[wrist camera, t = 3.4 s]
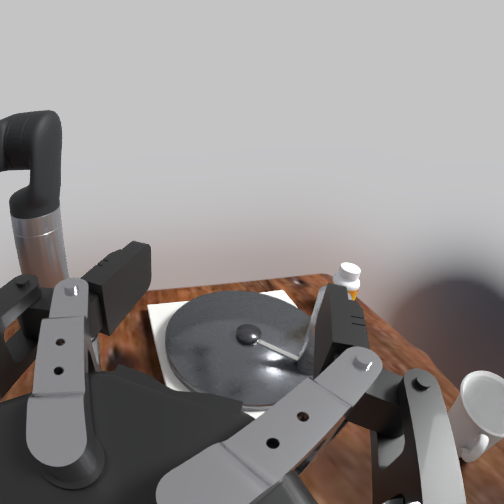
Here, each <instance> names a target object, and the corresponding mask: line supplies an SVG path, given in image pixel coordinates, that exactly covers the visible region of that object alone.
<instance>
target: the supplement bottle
mask: <svg viewBox="0 0 504 504" xmlns="http://www.w3.org/2000/svg"><path fill="white" fill-rule="evenodd" d="M360 272H361V270H360V268H359V267H358V266H356V265H354V264H352V263H342V264H341V265H340V269H339V272H338V273H336V274H335V275H334V276H333V279H332V284H337V285H342V286H346V287H347V292H348V293H349V294H350V295H351V297H352V300H355V298H356V295H357V292H358V289H359V286H360V281H359V280H358V278H359V276H360Z"/></svg>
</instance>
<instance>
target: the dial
mask: <svg viewBox="0 0 504 504" xmlns="http://www.w3.org/2000/svg"><path fill="white" fill-rule="evenodd" d="M326 287H327V286H323V287H321V288H320V290H319V293H318V297H317V300H316V303H315V307H314V310H313V313H312V316H311V318H310V317H309V316H308V315H307V314H306V313H304V312H303V311H301V310H300V309H299V308H297V307H295V306H293V305H292V304H290V303H288V302H285V301H283V300H281V299H278V298H276V297H272V296H269V295H266V294H261V293H256V292H249V291H221V292H214V293H210V294H205V295H202V296H199V297H197V298H195V299H192V300H190V301H189V302H187V303H185V304H184V305H183V306H181V307H180V308H179V309H178V310H177V311H176V312H175V313H174V314H173V316H172V317H171V319H170V320H169V322H168V325H167V328H166V332H165V350H166V356H167V360H168V363H169V366H170V368H171V369H172V371H173V373H174V375H175V376H176V377H177V378H178V380H179V381H180V382H181V383H182V384H183V385H184V386H185V387H186V388H187V389H188V390H190V391H191V392H197V393H211V394H214V395H218V396H222V397H226V398H230V399H234V400H239V401H243V405H242V409H241V411H248V412H260V411H267V410H268V409H269V408H271V407H272V406H273V405H274V404H276V403H277V402H278V401H279V400H281V399H282V398H283V397H284V396H286V395H287V394H288V393H289V392H290V391H292V390H293V389H294V388H295V387H296V386H298V385H299V384H300V383H301V382H302V381H304V380H305V379H306V378H308V377H311V378H312V379H313V369H314V343H315V324H316V319H317V315H318V312H319V309H320V306H321V303H322V299H323V296H324V293H325V290H326ZM347 293H348V292H347ZM348 299H349V300H352V297H351V295H350V294H349V293H348Z"/></svg>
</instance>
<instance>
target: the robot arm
mask: <svg viewBox="0 0 504 504" xmlns="http://www.w3.org/2000/svg"><path fill="white" fill-rule="evenodd" d="M61 149H62V128H61V122H60V119H59V116H58V115H57V114H56V113H55V112H54V111H49V110H47V111H34V112H27V113H18V114H14V115H11V116H9V117H7V118H4V119H2V120H0V172H2V171H7V170H30V184H29V185H28V186H27V187H25V188H22V189H20V190H18V191H17V192H15V193H14V194H13V195H12V196H11V197H10V200H9V204H10V214H11V220H12V227H13V233H14V238H15V244H16V249H17V254H18V259H19V264H20V268H21V272H22V275H20V276H17V277H15V278H14V279H12V280H11V281H10V282H8V283H7V284H6V285H4V286H3V287H2V288H1V289H0V401H1V399H2V398H3V396H4V395H5V394H6V393H7V392H8V390H9V389H10V388H11V387H12V386H13V384H14V383H15V382H16V381H17V380H18V379H19V377H20V376H21V375H22V374H23V373H24V372H25V370H26V369H27V368H28V367H29V366H30V365H31V364H32V362H33V361H34V360H35V359H36V363H35V373H34V383H33V392H31V393H28V394H25V395H22V396H19V397H16V398H13V399H10V400H7V401H4V402H1V403H0V504H318V503H317V502H316V500H315V499H314V498H313V496H312V495H311V493H310V492H309V490H308V489H307V487H306V486H305V485H304V483H303V482H302V480H301V479H300V476H301V475H302V474H303V473H304V472H305V471H306V470H307V469H308V468H309V467H310V466H311V464H312V463H313V462H314V461H315V460H316V459H317V457H318V456H319V455H320V454H321V453H322V452H323V451H324V450H325V449H326V447H327V446H328V445H329V444H330V443H331V442H332V441H333V440H334V439H335V437H336V436H337V435H338V434H339V433H340V432H341V431H342V429H343V428H344V427H345V426H346V425H347V424H348V422H352V423H354V424H357V425H359V426H362V427H364V428H367V429H370V439H371V457H372V488H373V504H466V498H465V492H464V486H463V480H462V475H461V469H460V464H459V459H458V455H457V450H456V446H455V441H454V437H453V433H452V429H451V425H450V421H449V418H448V414H447V410H446V407H445V403H444V400H443V396H442V393H441V390H440V386H439V384H438V381H437V380H436V378H435V377H434V376H433V375H432V374H430V373H429V372H427V371H425V370H422V369H411V370H409V371H407V372H406V373H405V375H404V377H402V376H400V375H397V374H394V373H392V372H389V371H387V370H385V369H383V368H382V362H381V359H380V358H379V357H378V355H377V354H375V353H374V352H373V351H371V350H370V347H369V341H368V336H367V330H366V327H365V325H366V324H365V320H364V314H363V309H362V308H361V307H360V305H359V304H358V303H357V301H354V300H349V299H348V293H347V287H346V286H342V285H337V284H332V283H328V284H327V287H326V290H325V293H324V296H323V299H322V303H321V306H320V309H319V312H318V315H317V319H316V324H315V343H314V369H313V379H312V378H311V377H308V378H306V379H305V380H304V381H302V382H301V383H300V384H299V385H298V386H296V387H295V388H294V389H293V390H292V391H290V392H289V393H288V394H287V395H286V396H284V397H283V398H282V399H281V400H279V401H278V402H277V403H276V404H274V405H273V406H272V407H271V408H269V409H268V410H267V411H265V412H264V413H263V414H262V415H260V416H259V417H258V418H256V419H255V418H254V417H252V416H250V415H249V414H247V413H245V412H243V411H241V409H242V405H243V401H239V400H234V399H230V398H226V397H222V396H218V395H214V394H211V393H197V392H185V391H176V390H173V389H171V388H169V387H167V386H166V385H164V384H162V383H161V382H159V381H157V380H156V379H154V378H152V377H151V376H149V375H147V374H145V373H143V372H140V371H137V370H134V369H131V368H129V367H126V366H123V365H121V364H118V366H117V367H116V369H115V370H114V372H111V371H101V365H100V351H99V339H98V335H97V334H98V333H99V332H100V333H103V334H106V335H108V336H110V335H111V334H112V333H113V331H114V330H115V329H116V328H117V326H118V325H119V324H120V323H121V321H122V320H123V319H124V318H125V317H126V315H127V314H128V313H129V312H130V310H131V309H132V308H133V307H134V306H135V304H136V303H137V302H138V301H139V299H140V298H141V297H142V296H143V295H144V293H145V292H146V291H147V290H148V288H149V286H150V282H151V247H150V245H149V244H145V243H140V242H136V241H132V242H131V243H129V244H128V245H127V246H126V247H124V248H123V249H122V250H121V249H120V250H117V251H115V252H112V253H110V254H109V255H108V256H106V257H105V258H104V259H103V261H100V262H99V263H98V265H96V266H94V267H93V268H92V269H91V270H90V271H88V272H87V273H86V274H85V275H84V276H83V277H81V278H69V275H68V268H67V262H66V255H65V248H64V241H63V232H62V224H61V214H60V201H59V195H60V186H61ZM16 318H18V321H19V324H20V327H21V328H20V329H19V330H18V331H17V332H16V333H15V334H14V335H13V336H12V337H11V338H10V339H9V340H8V341H7V342H6V343H5V341H4V331H5V329H6V328H7V327H8V326H9V325H10V324H11V323H12V322H13V321H14V320H15V319H16Z"/></svg>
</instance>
